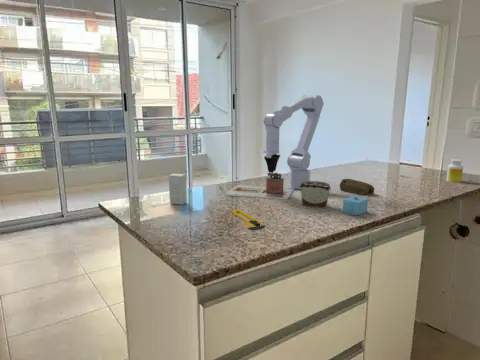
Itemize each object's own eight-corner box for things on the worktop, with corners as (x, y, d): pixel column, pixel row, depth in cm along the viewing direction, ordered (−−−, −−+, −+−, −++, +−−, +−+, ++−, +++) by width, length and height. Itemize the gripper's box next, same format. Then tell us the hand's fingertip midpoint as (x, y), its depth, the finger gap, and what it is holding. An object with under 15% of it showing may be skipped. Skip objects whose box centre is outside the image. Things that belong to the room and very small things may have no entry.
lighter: (283, 193, 167) (284, 172, 165) (283, 195, 164) (283, 173, 162) (266, 193, 169) (266, 171, 166) (265, 194, 165) (265, 173, 163)
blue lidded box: (353, 222, 129) (354, 201, 128) (337, 218, 133) (338, 198, 132) (368, 214, 138) (369, 195, 136) (353, 211, 142) (354, 192, 140)
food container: (332, 206, 147) (334, 182, 145) (329, 211, 142) (331, 185, 140) (302, 203, 152) (303, 179, 150) (298, 207, 147) (299, 182, 145)
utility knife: (251, 234, 119) (251, 228, 118) (224, 214, 139) (224, 209, 138) (269, 231, 122) (269, 225, 121) (240, 212, 141) (240, 207, 141)
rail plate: (294, 191, 172) (294, 188, 172) (287, 201, 156) (287, 198, 155) (238, 186, 181) (238, 184, 181) (225, 195, 164) (225, 193, 164)
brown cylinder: (337, 193, 169) (338, 179, 168) (345, 190, 174) (346, 176, 172) (367, 199, 158) (368, 184, 157) (375, 196, 163) (376, 182, 162)
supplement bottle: (463, 186, 181) (467, 161, 178) (449, 186, 181) (453, 161, 178) (455, 183, 187) (459, 158, 185) (442, 183, 187) (445, 158, 185)
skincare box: (187, 202, 154) (186, 174, 151) (182, 204, 150) (181, 176, 147) (174, 200, 156) (173, 173, 153) (169, 203, 152) (168, 175, 149)
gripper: (267, 139, 169) (267, 168, 172) (259, 142, 156) (259, 174, 159) (282, 139, 167) (281, 169, 170) (275, 143, 154) (275, 175, 157)
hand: (271, 171), depth 164 cm, fingers open, 3 cm apart
